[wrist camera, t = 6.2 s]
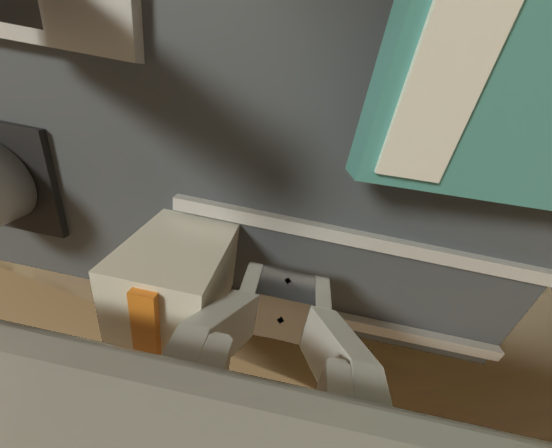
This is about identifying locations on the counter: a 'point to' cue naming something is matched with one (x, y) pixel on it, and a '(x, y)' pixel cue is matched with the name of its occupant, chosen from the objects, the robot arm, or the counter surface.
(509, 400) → the counter surface
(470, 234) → the panel
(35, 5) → the toggle lever
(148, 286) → the cream cube orange stripe
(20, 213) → the button
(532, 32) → the teal tile cream strip
